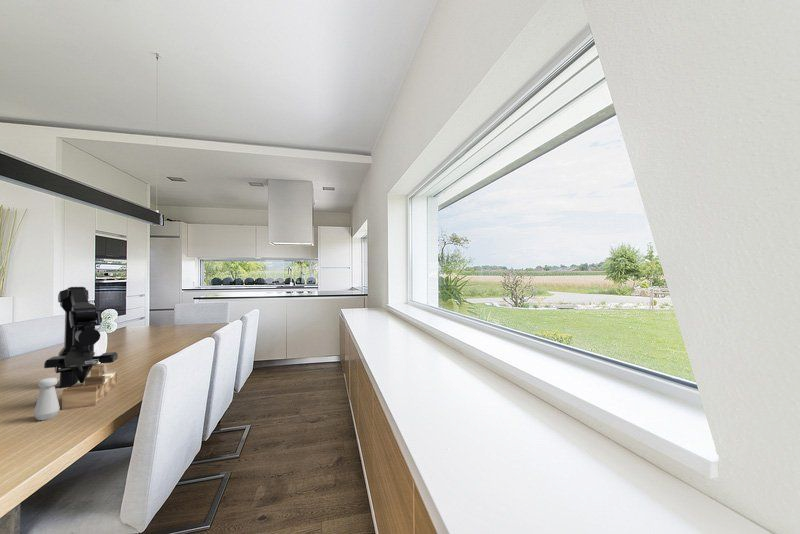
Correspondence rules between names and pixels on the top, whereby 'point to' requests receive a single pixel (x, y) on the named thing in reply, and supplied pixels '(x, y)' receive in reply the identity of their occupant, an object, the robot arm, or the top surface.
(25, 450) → the top surface
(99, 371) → the lid
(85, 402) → the toolbox
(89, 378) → the block
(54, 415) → the salt shaker
